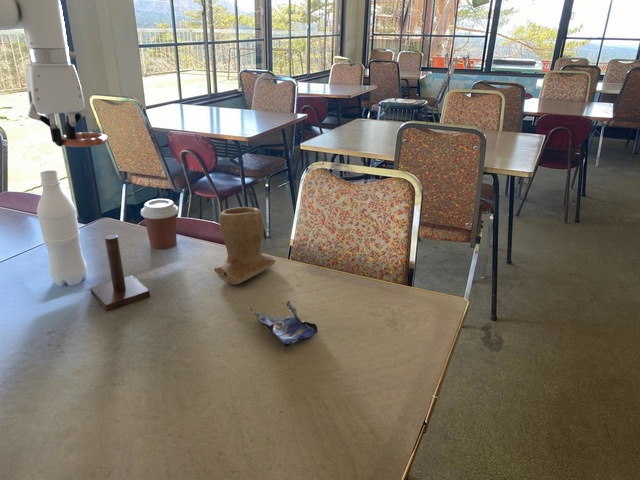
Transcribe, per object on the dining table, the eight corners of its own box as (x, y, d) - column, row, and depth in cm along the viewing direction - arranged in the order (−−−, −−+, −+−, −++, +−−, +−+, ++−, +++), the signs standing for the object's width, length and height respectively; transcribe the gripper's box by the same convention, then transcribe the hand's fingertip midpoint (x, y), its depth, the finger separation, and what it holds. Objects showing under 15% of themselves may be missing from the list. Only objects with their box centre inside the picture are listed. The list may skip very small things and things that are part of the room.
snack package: (303, 311, 98) (247, 318, 94) (306, 286, 95) (248, 293, 91) (322, 353, 89) (260, 364, 85) (326, 327, 85) (261, 337, 81)
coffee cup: (189, 242, 127) (185, 199, 122) (169, 256, 119) (164, 211, 114) (159, 237, 129) (154, 195, 124) (137, 251, 121) (131, 206, 116)
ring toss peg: (107, 311, 96) (96, 250, 90) (91, 294, 102) (79, 235, 96) (150, 296, 101) (142, 238, 96) (132, 280, 107) (124, 225, 102)
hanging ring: (68, 149, 104) (66, 142, 104) (53, 141, 111) (52, 134, 110) (114, 144, 111) (113, 137, 110) (98, 136, 117) (97, 130, 117)
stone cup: (245, 253, 122) (243, 197, 116) (282, 266, 116) (281, 207, 110) (200, 275, 110) (195, 214, 104) (238, 291, 104) (235, 227, 98)
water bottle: (96, 280, 107) (76, 171, 97) (66, 293, 102) (41, 179, 91) (76, 271, 110) (54, 165, 100) (46, 284, 105) (20, 173, 95)
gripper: (82, 56, 108) (95, 137, 116) (2, 56, 98) (21, 145, 106) (95, 58, 104) (107, 143, 111) (11, 59, 93) (30, 152, 101)
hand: (65, 144), depth 108 cm, fingers closed on hanging ring, 2 cm apart
